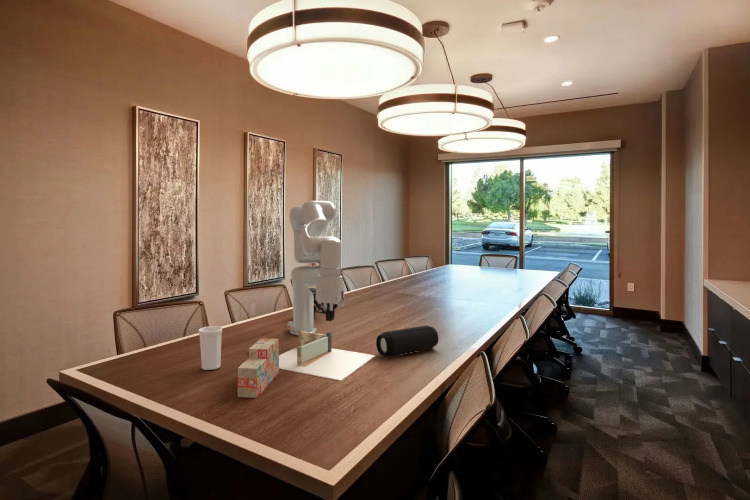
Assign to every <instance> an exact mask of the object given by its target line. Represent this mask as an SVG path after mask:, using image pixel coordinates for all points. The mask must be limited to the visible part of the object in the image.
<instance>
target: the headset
mask: <svg viewBox="0 0 750 500" xmlns="http://www.w3.org/2000/svg"><path fill="white" fill-rule="evenodd" d="M308 288H309V290H310V291H311V292H312V293H313V296H314V317H315V315H316V313H317V312H321V313H323V314H326V310H324V307H323V306H322V305H321V304H319V303H317V300H316V288H314V287H308Z"/></svg>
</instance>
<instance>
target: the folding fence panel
mask: <svg viewBox="0 0 750 500" xmlns="http://www.w3.org/2000/svg"><path fill="white" fill-rule="evenodd" d="M296 347H297V364H302V363H304V362H306V361H308V360H310V359H312V358H315V357H317V356H319V355H321V354H323V353H326V352H328V337H323V338H321V339H318V340H316V341H313V342H311V343H308V344H306V345H303V346H298V345H297V346H296Z"/></svg>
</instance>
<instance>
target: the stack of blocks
mask: <svg viewBox="0 0 750 500" xmlns="http://www.w3.org/2000/svg"><path fill="white" fill-rule="evenodd" d="M260 339H261V340H259V341H257V342H256V343H255V344H254V343H253V344H254V345H253V344H252V346H250V347H249V348H248V358H247V359H246V360H244V362H242V363H241V364H240V366H238V367H237V379H236V381H237V398H255V399H256V398H258V397H259V396H260V395H261V394H262V393H263V391H264V390H265V389H266V388H267V387H268V386H269V384H270V383H271V382H272V381H273V379H275V377H277V376H278V374H279V373H280V369H279V355H280V342H279V341H280V339H279V338H266V339H262V338H260Z"/></svg>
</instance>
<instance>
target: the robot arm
mask: <svg viewBox="0 0 750 500" xmlns="http://www.w3.org/2000/svg"><path fill="white" fill-rule="evenodd" d="M336 215H337V214H336V207H335V205H334V203H333V202H331V201H327V200H308V201H305V202H304V203H303V204H302V205H298V206H294V207H292V208H290V211H289V223H290V225H291V228H292V232H293V239H294V240H293V249H294V250H293V254H294V261H295V262H296V263H299V264H317V265H301V266H299V265H298V266H296V267H294V268H293V269H292V271H291V273H290V277H291V283H292V284H291V285H292V293H293V294H292V297H293V299H292V302H293V303H292V304H293V305H292V306H293V307H292V310H293V311H292V313H293V314H292V315H293V317H292V318H293V319H292V321H289V320H288V322H287V324H286V325H287V327H290V328H291V329H290V330H289V333H290V334H292V335H294V336H298V330H299V329H302V331H303V332H310V333H316V334H317V332H318V329H317V328H316V327H315V326H314V322H315V321H314V317H315V316H314V306H315V304H314V296H313V293H312V292H311V291H310V290H309V288H310V287H316V288H315V289H316V300H317V303H319V304H321V307H322V308H324V310H326V313H324V314H325V321H326V322H332V321H334V320H335V310H336V309H337V308H340V307H344V300H345V286H344V284H345V283H344V279H343V275H342V241H341V240H340V239H339V238H337V237H336V236H332V235H331V236H322V235H320V234H323V233H324V232H325V231H326V230H327V228H328V224H329V223H331V222H333V220H335V219H336V218H335V217H336Z"/></svg>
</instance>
